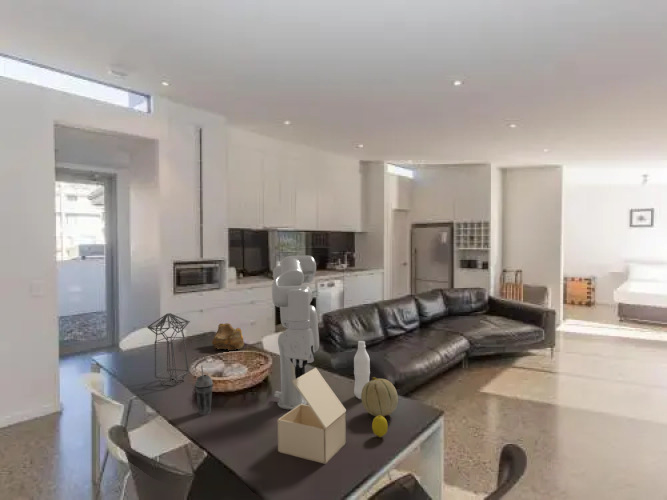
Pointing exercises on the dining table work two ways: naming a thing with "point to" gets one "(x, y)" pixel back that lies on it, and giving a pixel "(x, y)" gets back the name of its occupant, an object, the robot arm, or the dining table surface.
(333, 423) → the carton
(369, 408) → the cantaloupe
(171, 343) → the geometric lantern
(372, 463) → the dining table surface
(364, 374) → the water bottle
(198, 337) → the dining table surface
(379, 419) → the lemon
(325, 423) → the carton lid
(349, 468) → the dining table surface
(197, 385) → the beverage cup
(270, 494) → the dining table surface
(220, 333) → the rough brown rock
